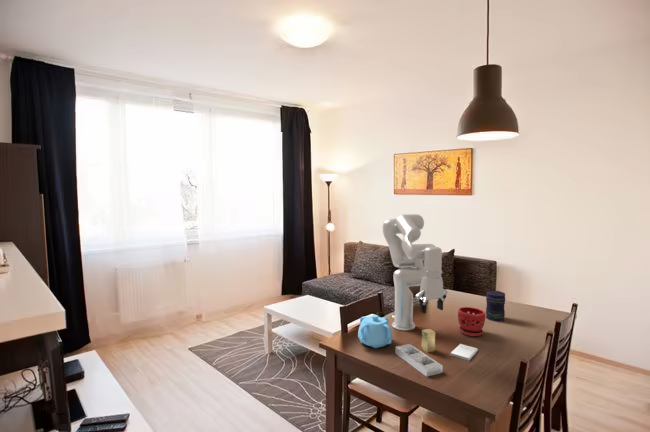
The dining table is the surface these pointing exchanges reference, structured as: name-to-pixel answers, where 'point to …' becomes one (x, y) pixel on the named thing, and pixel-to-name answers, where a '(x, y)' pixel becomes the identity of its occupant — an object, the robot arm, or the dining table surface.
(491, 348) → the dining table surface
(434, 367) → the grey slotted plate
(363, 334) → the decorative pot
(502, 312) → the storage jar
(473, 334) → the plant pot
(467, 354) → the external hard drive
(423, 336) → the gold rectangular block
